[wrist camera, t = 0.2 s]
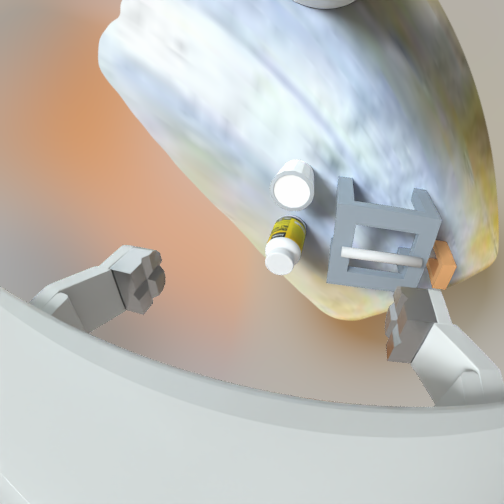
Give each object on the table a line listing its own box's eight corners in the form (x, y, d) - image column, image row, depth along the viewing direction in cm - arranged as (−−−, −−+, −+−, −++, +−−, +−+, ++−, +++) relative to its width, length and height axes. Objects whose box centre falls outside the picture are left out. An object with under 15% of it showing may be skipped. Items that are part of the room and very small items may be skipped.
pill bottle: (290, 207, 52) (279, 242, 43) (313, 229, 53) (306, 267, 45) (268, 225, 55) (253, 261, 47) (290, 246, 57) (279, 284, 49)
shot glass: (324, 168, 45) (322, 184, 40) (306, 199, 50) (301, 218, 44) (288, 149, 45) (280, 162, 40) (271, 181, 49) (262, 198, 44)
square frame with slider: (338, 176, 45) (337, 209, 36) (426, 190, 41) (445, 225, 33) (330, 247, 54) (325, 289, 46) (406, 258, 50) (415, 300, 42)
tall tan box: (433, 239, 46) (442, 264, 41) (446, 241, 45) (456, 266, 40) (425, 262, 50) (432, 288, 44) (437, 264, 49) (445, 289, 43)
